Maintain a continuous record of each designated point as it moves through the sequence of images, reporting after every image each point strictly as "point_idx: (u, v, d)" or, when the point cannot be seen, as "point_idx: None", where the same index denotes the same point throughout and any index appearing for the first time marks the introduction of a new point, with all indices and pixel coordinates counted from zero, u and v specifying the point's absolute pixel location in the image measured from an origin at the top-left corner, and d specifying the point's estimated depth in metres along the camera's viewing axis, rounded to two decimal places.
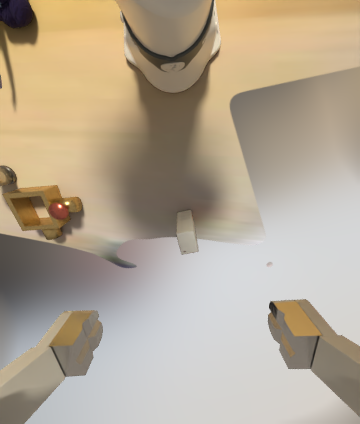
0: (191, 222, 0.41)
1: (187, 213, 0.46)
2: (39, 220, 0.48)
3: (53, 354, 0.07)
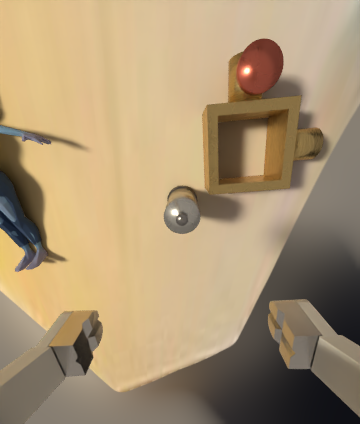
0: None
1: None
2: (269, 165, 0.24)
3: (53, 354, 0.07)
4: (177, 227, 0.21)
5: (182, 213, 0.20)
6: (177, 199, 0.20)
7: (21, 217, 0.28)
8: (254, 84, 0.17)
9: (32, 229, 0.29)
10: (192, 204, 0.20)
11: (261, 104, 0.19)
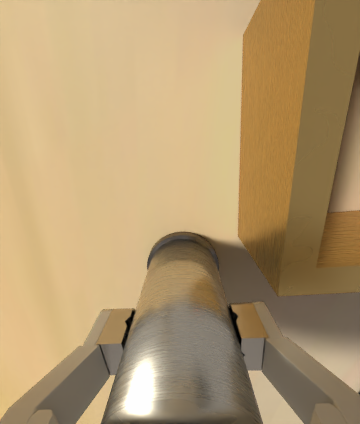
0: None
1: None
2: None
3: (99, 352, 0.06)
4: None
5: None
6: (159, 380, 0.04)
7: None
8: None
9: None
10: (235, 416, 0.04)
11: None
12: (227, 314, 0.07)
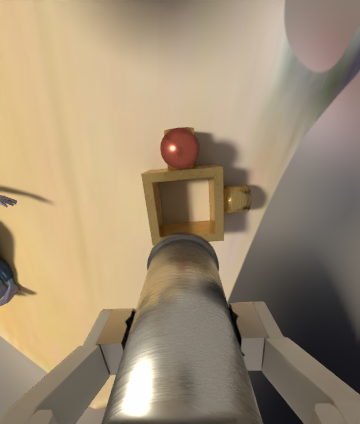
0: None
1: None
2: (211, 215, 0.27)
3: (99, 353, 0.06)
4: None
5: None
6: (159, 381, 0.04)
7: None
8: (176, 162, 0.20)
9: (3, 269, 0.32)
10: (235, 417, 0.04)
11: (189, 173, 0.22)
12: (227, 315, 0.07)
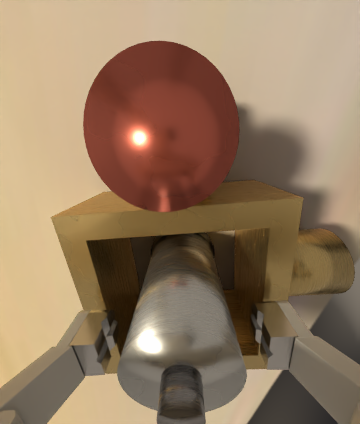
0: None
1: None
2: (240, 288, 0.12)
3: (73, 353, 0.07)
4: None
5: (183, 387, 0.05)
6: (164, 322, 0.05)
7: None
8: (149, 190, 0.05)
9: None
10: (220, 346, 0.05)
11: (195, 217, 0.07)
12: (219, 286, 0.08)
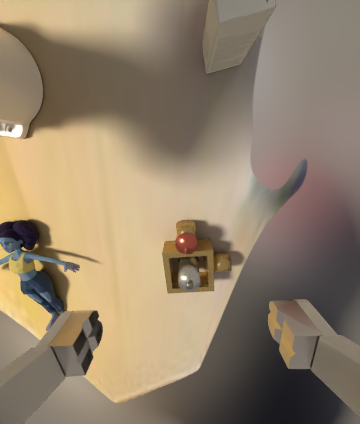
0: (208, 8, 0.20)
1: (204, 44, 0.26)
2: (206, 270, 0.40)
3: (53, 354, 0.07)
4: (186, 288, 0.34)
5: (189, 282, 0.33)
6: (186, 272, 0.33)
7: (54, 298, 0.44)
8: (184, 251, 0.33)
9: (59, 304, 0.45)
10: (195, 276, 0.33)
11: (192, 253, 0.35)
12: (197, 268, 0.36)
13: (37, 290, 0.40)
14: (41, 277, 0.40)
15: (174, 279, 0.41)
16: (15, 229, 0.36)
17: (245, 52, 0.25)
